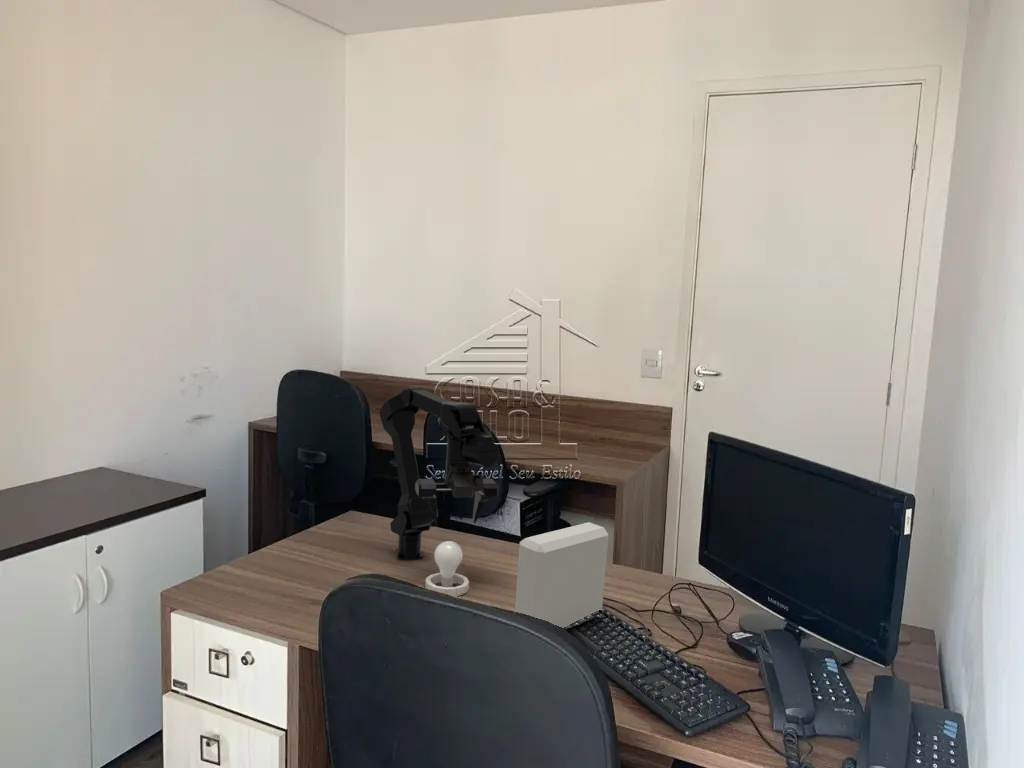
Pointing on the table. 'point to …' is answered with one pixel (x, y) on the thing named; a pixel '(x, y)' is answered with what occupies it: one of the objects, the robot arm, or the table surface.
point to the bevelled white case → (562, 574)
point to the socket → (450, 590)
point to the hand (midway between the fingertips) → (455, 523)
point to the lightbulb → (448, 561)
